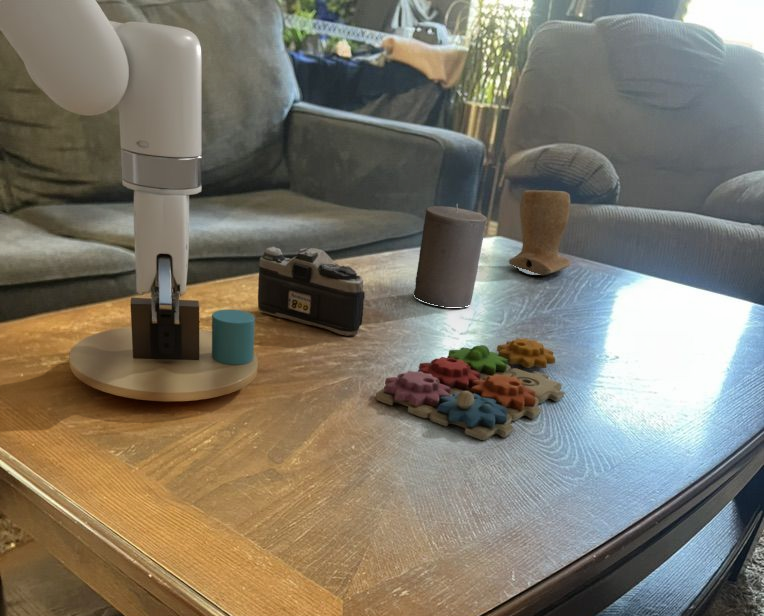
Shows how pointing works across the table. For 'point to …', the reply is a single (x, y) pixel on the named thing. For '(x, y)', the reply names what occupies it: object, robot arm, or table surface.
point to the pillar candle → (449, 256)
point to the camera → (311, 290)
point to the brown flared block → (542, 231)
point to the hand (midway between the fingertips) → (166, 348)
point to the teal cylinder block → (232, 337)
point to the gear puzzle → (477, 388)
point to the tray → (157, 361)
